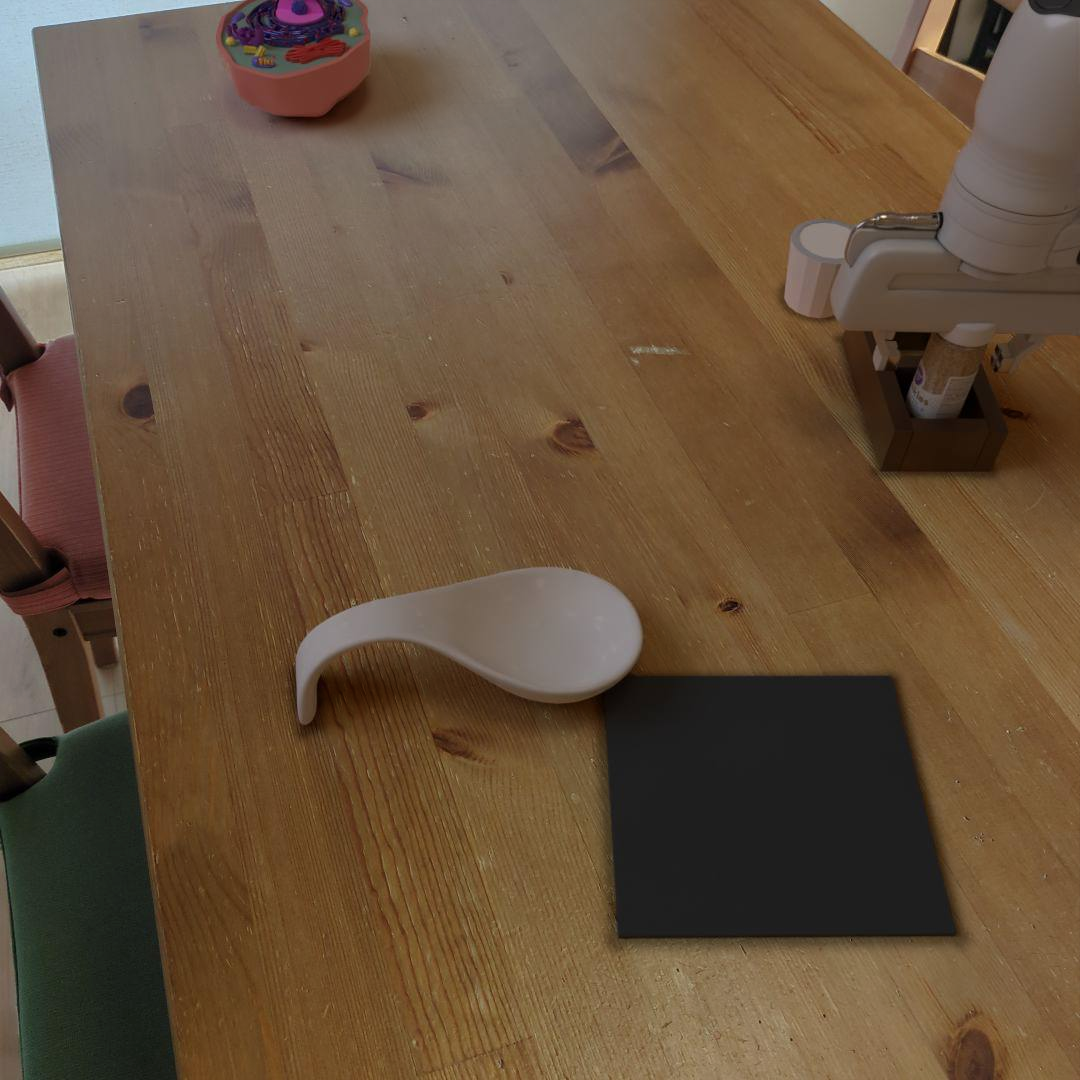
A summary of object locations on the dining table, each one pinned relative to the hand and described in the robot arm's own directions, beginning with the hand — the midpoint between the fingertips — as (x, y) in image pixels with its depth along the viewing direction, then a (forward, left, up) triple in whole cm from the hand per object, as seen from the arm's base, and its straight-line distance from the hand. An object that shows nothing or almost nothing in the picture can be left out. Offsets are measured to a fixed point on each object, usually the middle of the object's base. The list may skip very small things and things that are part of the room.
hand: (942, 366), depth 88 cm
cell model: (+58, -54, -8) cm, 79 cm away
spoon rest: (+37, +24, -7) cm, 45 cm away
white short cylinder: (+6, -18, -8) cm, 20 cm away
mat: (+18, +33, -8) cm, 39 cm away
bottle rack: (0, -4, -8) cm, 8 cm away
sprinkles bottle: (0, 0, -8) cm, 8 cm away
